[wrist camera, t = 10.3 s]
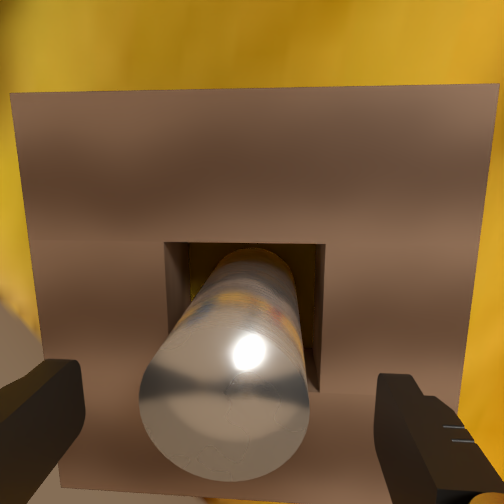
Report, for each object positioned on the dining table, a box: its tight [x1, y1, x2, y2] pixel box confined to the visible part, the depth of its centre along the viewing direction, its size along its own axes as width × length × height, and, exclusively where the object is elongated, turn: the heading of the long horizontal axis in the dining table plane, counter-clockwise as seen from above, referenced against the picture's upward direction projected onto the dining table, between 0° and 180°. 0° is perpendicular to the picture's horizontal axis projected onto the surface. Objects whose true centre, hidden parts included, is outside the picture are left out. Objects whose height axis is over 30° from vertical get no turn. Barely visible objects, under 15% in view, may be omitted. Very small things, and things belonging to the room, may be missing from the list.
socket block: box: [10, 84, 500, 504], centre depth 17 cm, size 18×18×4 cm
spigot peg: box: [139, 247, 310, 482], centre depth 15 cm, size 4×4×10 cm
